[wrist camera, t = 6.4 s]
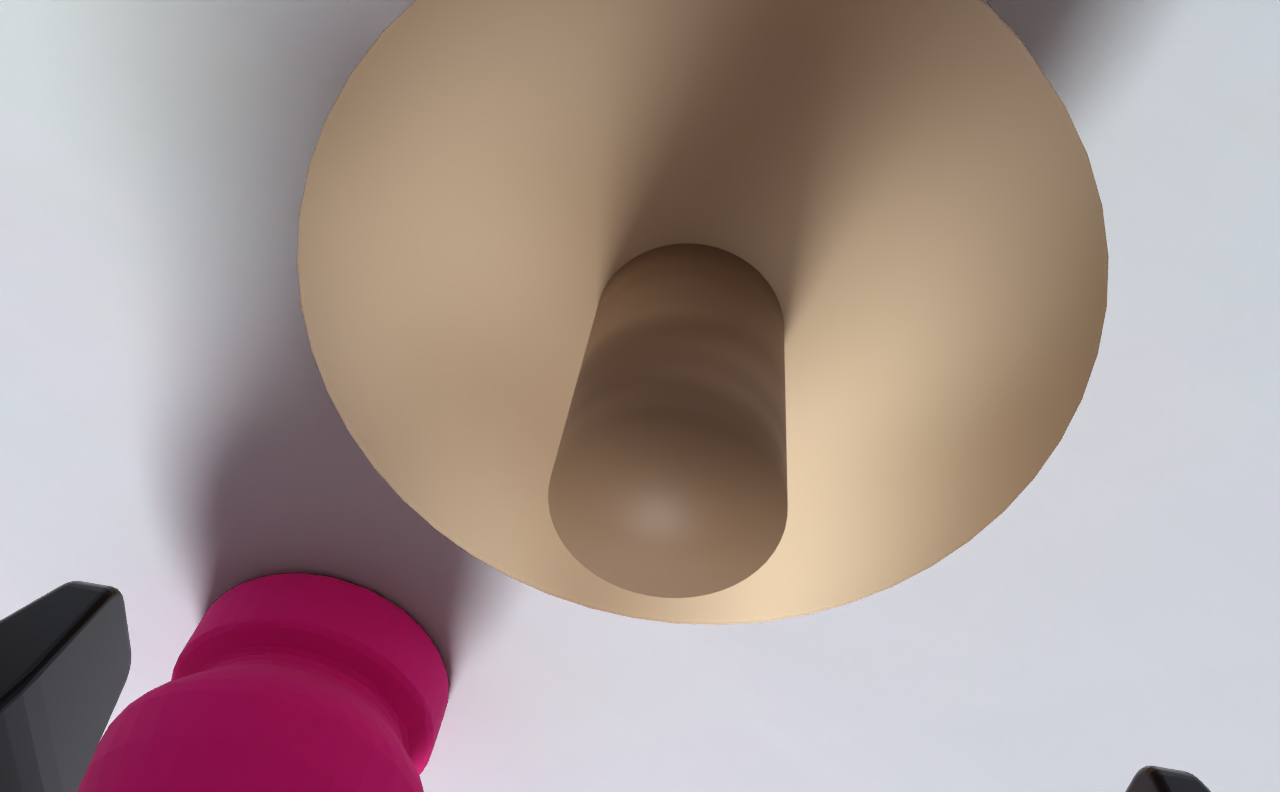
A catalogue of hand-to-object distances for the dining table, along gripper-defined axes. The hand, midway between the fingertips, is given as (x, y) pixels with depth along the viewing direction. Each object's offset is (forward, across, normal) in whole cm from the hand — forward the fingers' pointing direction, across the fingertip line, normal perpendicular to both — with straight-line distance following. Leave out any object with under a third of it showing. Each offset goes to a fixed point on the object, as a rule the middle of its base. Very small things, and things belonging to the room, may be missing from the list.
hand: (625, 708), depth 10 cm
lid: (+8, 0, 0) cm, 8 cm away
